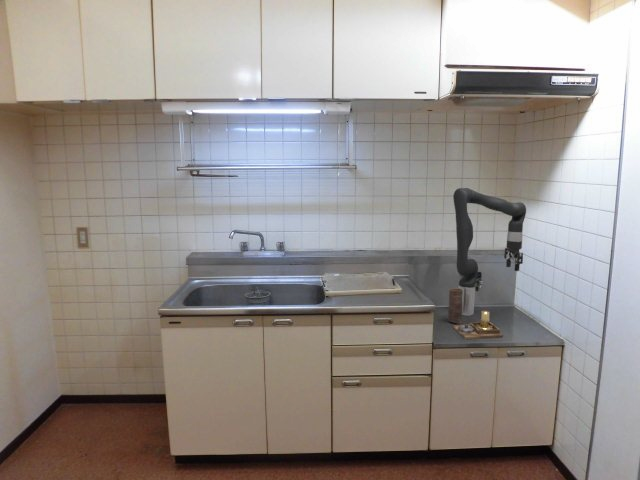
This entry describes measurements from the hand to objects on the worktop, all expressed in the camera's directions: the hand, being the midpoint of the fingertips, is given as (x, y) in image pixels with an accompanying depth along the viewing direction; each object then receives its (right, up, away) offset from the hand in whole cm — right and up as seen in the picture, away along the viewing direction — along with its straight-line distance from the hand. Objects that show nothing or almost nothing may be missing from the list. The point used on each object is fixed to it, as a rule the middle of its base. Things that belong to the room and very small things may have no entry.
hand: (512, 268), depth 223 cm
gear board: (-21, -34, -4) cm, 40 cm away
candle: (-28, -31, +11) cm, 43 cm away
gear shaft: (-17, -32, -4) cm, 37 cm away
